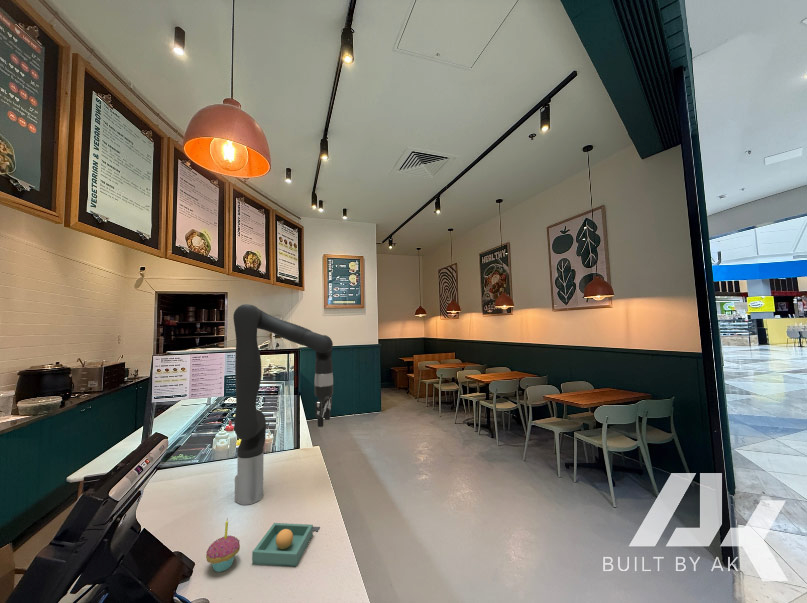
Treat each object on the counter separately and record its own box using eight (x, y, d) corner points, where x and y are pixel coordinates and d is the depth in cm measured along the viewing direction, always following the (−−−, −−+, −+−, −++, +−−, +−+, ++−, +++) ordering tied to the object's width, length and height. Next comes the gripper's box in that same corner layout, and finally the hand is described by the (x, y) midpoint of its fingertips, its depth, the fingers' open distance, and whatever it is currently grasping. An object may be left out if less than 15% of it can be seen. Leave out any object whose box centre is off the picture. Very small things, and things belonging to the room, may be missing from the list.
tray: (252, 564, 94) (252, 551, 94) (274, 533, 107) (274, 522, 107) (296, 567, 93) (296, 554, 93) (312, 535, 106) (312, 524, 106)
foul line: (274, 529, 109) (274, 528, 109) (276, 525, 111) (276, 524, 111) (318, 531, 108) (317, 530, 108) (320, 527, 110) (320, 526, 110)
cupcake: (215, 555, 97) (215, 514, 98) (244, 553, 98) (245, 512, 99) (199, 579, 89) (200, 533, 89) (232, 576, 90) (233, 531, 90)
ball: (272, 552, 98) (272, 535, 98) (280, 540, 102) (280, 524, 103) (288, 553, 97) (288, 536, 97) (295, 541, 102) (295, 525, 102)
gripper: (320, 380, 144) (321, 417, 143) (308, 387, 130) (308, 429, 129) (337, 380, 143) (337, 417, 143) (327, 387, 129) (327, 429, 128)
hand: (324, 423), depth 136 cm, fingers open, 8 cm apart
